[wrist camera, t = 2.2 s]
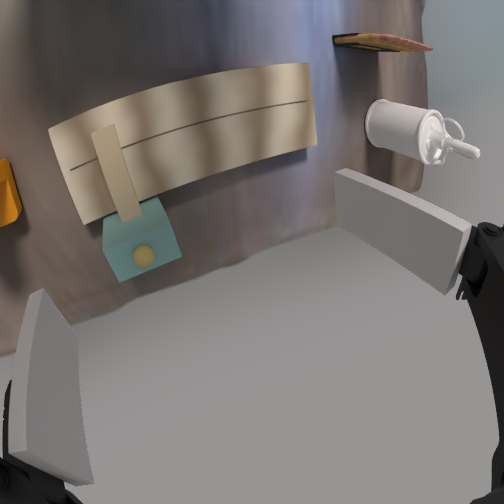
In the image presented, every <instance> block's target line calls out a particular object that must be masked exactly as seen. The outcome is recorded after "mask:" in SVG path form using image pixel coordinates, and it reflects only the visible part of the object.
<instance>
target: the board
mask: <svg viewBox="0 0 504 504" xmlns="http://www.w3.org/2000/svg"><path fill="white" fill-rule="evenodd" d="M112 124H114V126H115V130H116V133H117V137H118V140H119V143H120V147H121V150H122V153H123V157H124V160H125V163H126V166H127V169H128V172H129V175H130V178H131V181H132V184H133V187H134V190H135V193H136V196H137V199H138V202H139V201H142V200H144V199H147V198H149V197H152V196H154V195H157V194H160V193H162V192H165V191H168V190H170V189H173V188H176V187H179V186H181V185H184V184H187V183H190V182H193V181H196V180H199V179H201V178H204V177H207V176H210V175H213V174H217V173H220V172H223V171H226V170H229V169H232V168H235V167H239V166H242V165H245V164H249V163H252V162H255V161H259V160H262V159H266V158H269V157H273V156H277V155H280V154H284V153H288V152H292V151H295V150H299V149H303V148H307V147H311V146H315V145H317V137H316V125H315V115H314V105H313V96H312V87H311V79H310V71H309V64H308V63H291V64H278V65H268V66H258V67H250V68H243V69H236V70H230V71H224V72H218V73H213V74H208V75H203V76H198V77H193V78H189V79H185V80H181V81H176V82H173V83H169V84H165V85H161V86H158V87H154V88H151V89H147V90H144V91H141V92H138V93H135V94H132V95H129V96H126V97H123V98H120V99H117V100H114V101H112V102H109V103H106V104H104V105H101V106H99V107H96V108H94V109H91V110H89V111H86V112H84V113H82V114H79V115H77V116H75V117H73V118H70V119H68V120H66V121H64V122H62V123H60V124H58V125H56V126H53V127H51V128H50V129H48V131H49V135H50V138H51V141H52V144H53V148H54V151H55V154H56V157H57V159H58V162H59V165H60V168H61V171H62V173H63V176H64V179H65V181H66V184H67V187H68V189H69V192H70V194H71V197H72V199H73V201H74V204H75V206H76V209H77V211H78V213H79V215H80V218H81V220H82V222H83V224H84V225H85V224H88V223H90V222H92V221H94V220H96V219H99V218H101V217H103V216H105V215H108V214H110V213H112V212H115V211H117V209H116V206H115V204H114V201H113V198H112V196H111V193H110V190H109V188H108V185H107V182H106V179H105V177H104V174H103V171H102V168H101V165H100V162H99V159H98V156H97V153H96V150H95V147H94V143H93V140H92V137H91V133H92V132H94V131H97V130H99V129H102V128H104V127H107V126H109V125H112Z"/></svg>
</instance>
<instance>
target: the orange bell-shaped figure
mask: <svg viewBox="0 0 504 504" xmlns="http://www.w3.org/2000/svg"><path fill="white" fill-rule="evenodd" d="M21 211H22V205H21V202H20V199H19V196H18V192H17V189H16V186H15V182H14V179H13V175H12V171H11V167H10V163H9V159H8V157H7V158H5V159H3V160H1V161H0V227H2V226H4V225H7V224H9V223H11V222H14V221H15V220H16V219H17V218H18V216H19V215H20V213H21Z"/></svg>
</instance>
